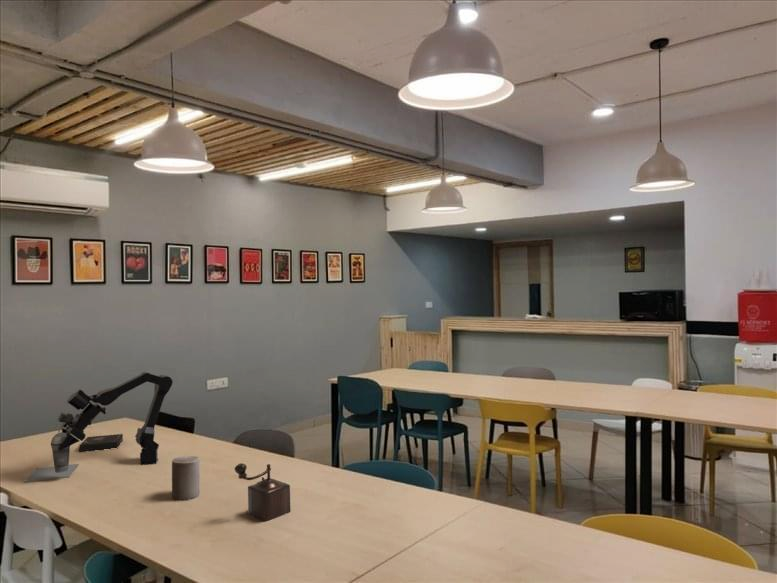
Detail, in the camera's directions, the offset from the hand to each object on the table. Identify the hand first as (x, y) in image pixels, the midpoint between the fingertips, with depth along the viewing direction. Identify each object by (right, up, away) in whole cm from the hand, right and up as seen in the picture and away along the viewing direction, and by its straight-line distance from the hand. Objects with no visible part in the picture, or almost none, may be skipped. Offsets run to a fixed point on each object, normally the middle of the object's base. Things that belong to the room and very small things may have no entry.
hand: (57, 448), depth 221 cm
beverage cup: (+1, -10, +1) cm, 10 cm away
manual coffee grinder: (+93, -11, -40) cm, 102 cm away
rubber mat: (-8, -14, +10) cm, 19 cm away
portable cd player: (-10, -15, +53) cm, 55 cm away
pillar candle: (+60, -12, -20) cm, 65 cm away
